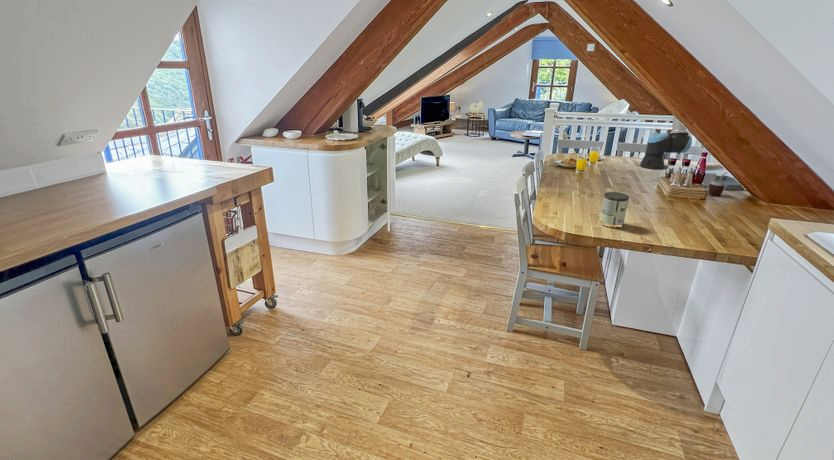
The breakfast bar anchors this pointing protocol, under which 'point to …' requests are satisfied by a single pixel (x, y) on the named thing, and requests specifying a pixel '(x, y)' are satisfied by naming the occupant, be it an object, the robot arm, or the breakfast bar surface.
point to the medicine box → (709, 178)
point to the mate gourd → (716, 187)
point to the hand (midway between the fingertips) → (712, 148)
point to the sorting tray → (729, 183)
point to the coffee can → (614, 208)
